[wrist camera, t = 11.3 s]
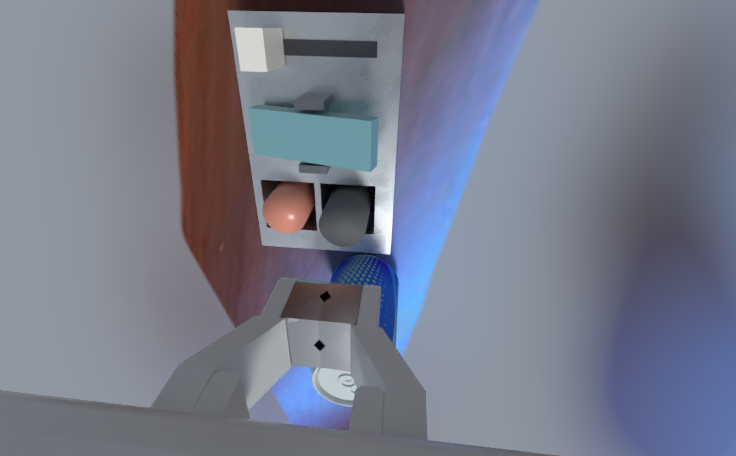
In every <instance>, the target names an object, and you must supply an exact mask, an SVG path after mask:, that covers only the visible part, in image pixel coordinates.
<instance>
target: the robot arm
mask: <svg viewBox="0 0 736 456" xmlns="http://www.w3.org/2000/svg"><path fill="white" fill-rule="evenodd" d="M380 299H381V286H375V285H356V284H343V283H331V282H322V281H313V280H304V279H292V278H282V277H281V278H280V279H279V280H278V281H277V283H276V285H275V287H274V289H273V291H272V293H271V295H270V297H269V299H268V301H267V303H266V305H265V307H264V309H263V311H262V313H261V315H260V316H254V317H252V318H251V319H249V320H248V321H246V322H244V323H243V324H241V325H240V326H238V327H237V328H235V329H233V330H232V331H230V332H229V333H227V334H226V335H224V336H222V337H221V338H219V339H218V340H216V341H215V342H213V343H212V344H210V345H208V346H207V347H205V348H204V349H202V350H201V351H199V352H197V353H196V354H194V355H193V356H191V357H190V358H188V359H186V360H185V361H183V362H182V363H180V364H179V365H178V366H177V368H176V369H175V371H174V372H173V374H172V375H171V377H170V378H169V380H168V382H167V383H166V385H165V386H164V388H163V389H162V391H161V392H160V394H159V395H158V397H157V398H156V400H155V401H154V403H153V404H152V406H151V407H150V408H147V407H138V406H130V405H121V404H113V403H104V402H96V401H87V400H79V399H70V398H62V397H53V396H45V395H36V394H27V393H19V392H10V391H2V390H0V456H557V455H549V454H541V453H532V452H524V451H515V450H507V449H497V448H490V447H481V446H473V445H464V444H456V443H446V442H438V441H430V440H427V418H426V417H427V416H426V391H425V390H424V388H423V387H422V385H421V384H420V383H419V381H418V380H417V378H416V377H415V375H414V374H413V372H412V371H411V369H410V368H409V366H408V365H407V364H406V362H405V361H404V359H403V358H402V356H401V355H400V353H399V352H398V350H397V349H396V347H395V346H394V344H393V343H392V342H391V340H390V339H389V337H388V336H387V334H386V333H385V331H384V330H383V328H381V327H379V316H380ZM291 365H292V366H305V367H318V368H327V369H334V370H342V371H350V373H351V376H352V378H353V380H354V382H355V385H356V387H357V389H356V390H355V395H354V401H353V407H352V413H351V419H350V425H349V431H343V430H335V429H326V428H317V427H309V426H300V425H292V424H283V423H275V422H266V421H257V420H250V415H249V412H248V410H249V409H250V408H251V407H252V406H253V405H254V404H255V403H256V402H257V401H258V400H259V399H260V398H261V397H262V396H263V395H264V394H265V393H266V392H267V391H268V390H269V389H270V388H271V387H272V386H273V385H274V384H275V383H276V382H277V381H278V380H279V379H280V378H281V377H282V376H283V375H284V374H285V373H286V372H287V371H288V370H289V369H290V368H291Z"/></svg>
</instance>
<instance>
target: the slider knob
mask: <svg viewBox="0 0 736 456" xmlns="http://www.w3.org/2000/svg"><path fill="white" fill-rule="evenodd" d="M234 29H235V36H236V43H237V50H238V57H239V64H240V71H250V72H269V71H272V70H275V69H278V68H281V67H284V66H285V57H284V45H283V34H282V28H276V27H234Z"/></svg>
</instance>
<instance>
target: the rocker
mask: <svg viewBox="0 0 736 456" xmlns="http://www.w3.org/2000/svg"><path fill="white" fill-rule="evenodd" d="M248 112H249V119H250V126H251V134H252V141H253V148H254V155H261V156H268V157H274V158H281V159H287V160H294V161H300V162H307V163H313V164H320V165H326V166H333V167H339V168H346V169H353V170H359V171H366V172H371V171H372V170H373V169H374V168H375V167H376V166H377V153H378V122H379V117H375V116H365V115H356V114H346V113H336V112H326V111H317V110H298V109H294V108H288V107H278V106H268V105H256V106H253V107H249V108H248Z"/></svg>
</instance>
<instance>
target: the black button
mask: <svg viewBox="0 0 736 456" xmlns="http://www.w3.org/2000/svg"><path fill="white" fill-rule="evenodd" d="M371 204H372V196H371V193H370V191H369V189H368V188H367V187H366V186H360V185H343V184H337V185H336V186H335V187H334V189H333V191H332V193H331V195H330V197H329V199H328V201H327V204H326V206H325V208H324V210H323V212H322V214H321V216H320V219H319V229H320V232H321V234H322V236H323V237H324V238H325V239H326V240H327V241H328V242H330V243H331V244H334V245H336V246H340V247H349V246H353V245H355V244H357V243H358V242H360V241H361V240H362V239H363V237H364V235H365V232H366V228H367V223H368V218H369V214H370V209H371Z"/></svg>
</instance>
